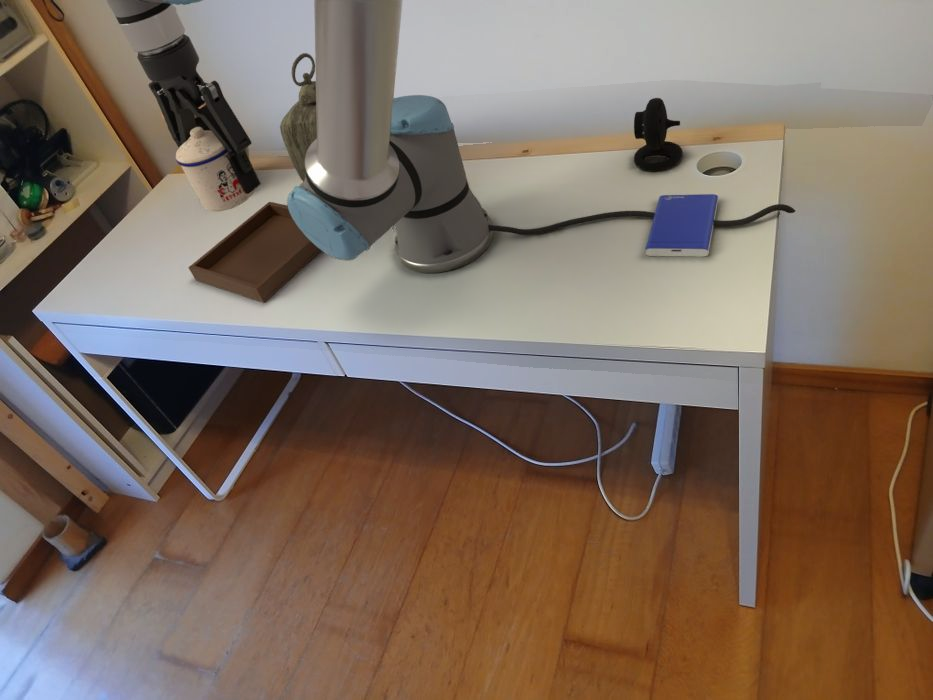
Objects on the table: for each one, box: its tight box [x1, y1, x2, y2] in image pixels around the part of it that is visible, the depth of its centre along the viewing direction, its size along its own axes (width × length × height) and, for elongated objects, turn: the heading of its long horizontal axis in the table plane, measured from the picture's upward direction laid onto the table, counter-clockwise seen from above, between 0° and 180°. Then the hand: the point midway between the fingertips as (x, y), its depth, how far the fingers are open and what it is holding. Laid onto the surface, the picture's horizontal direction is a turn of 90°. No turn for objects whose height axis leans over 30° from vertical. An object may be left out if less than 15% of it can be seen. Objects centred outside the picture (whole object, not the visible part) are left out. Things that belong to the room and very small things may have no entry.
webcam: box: [633, 97, 683, 172], centre depth 117 cm, size 8×8×10 cm
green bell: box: [279, 52, 317, 183], centre depth 129 cm, size 14×9×25 cm, turn 162°
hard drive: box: [645, 193, 719, 258], centre depth 106 cm, size 2×8×12 cm
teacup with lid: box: [175, 127, 256, 213], centre depth 116 cm, size 12×9×12 cm
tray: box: [188, 201, 323, 304], centre depth 127 cm, size 18×20×3 cm
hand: (233, 184), depth 119 cm, fingers closed on teacup with lid, 9 cm apart
